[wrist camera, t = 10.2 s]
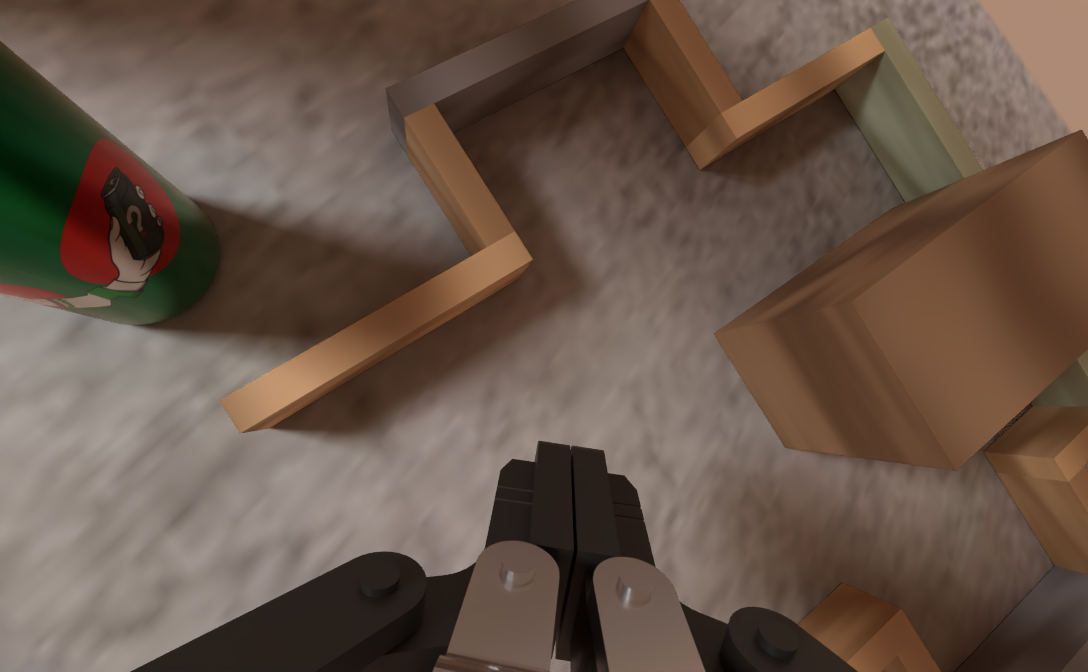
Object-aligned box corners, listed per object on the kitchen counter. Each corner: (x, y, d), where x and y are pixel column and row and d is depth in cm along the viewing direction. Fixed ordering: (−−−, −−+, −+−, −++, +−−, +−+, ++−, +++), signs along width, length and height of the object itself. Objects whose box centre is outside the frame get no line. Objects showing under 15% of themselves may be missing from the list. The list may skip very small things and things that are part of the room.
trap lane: (658, 1033, 20) (698, 1144, 17) (151, 247, 19) (102, 219, 16) (1126, 521, 27) (1210, 536, 24) (768, -53, 27) (810, -108, 24)
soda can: (192, 171, 20) (-150, -157, 8) (248, 293, 20) (-17, 138, 8) (42, 220, 19) (-613, -84, 7) (101, 350, 18) (-461, 265, 7)
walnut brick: (783, 447, 24) (956, 470, 16) (712, 334, 24) (850, 301, 16) (953, 310, 27) (1170, 273, 19) (890, 208, 26) (1081, 129, 19)
